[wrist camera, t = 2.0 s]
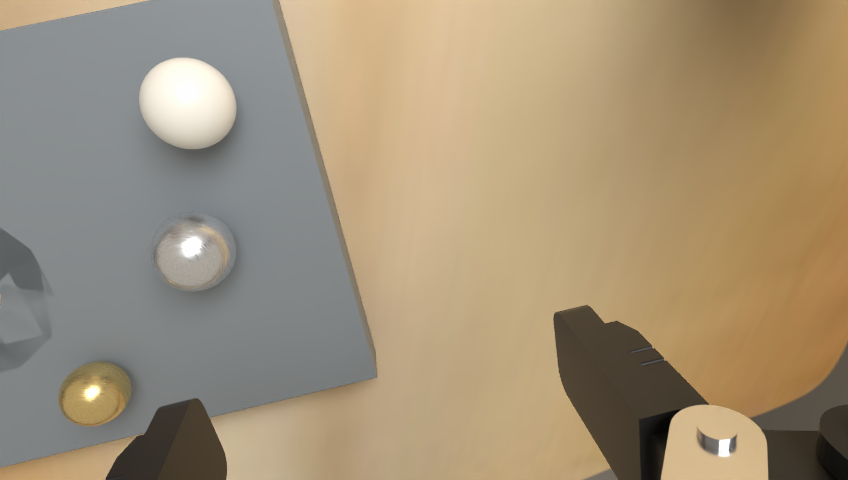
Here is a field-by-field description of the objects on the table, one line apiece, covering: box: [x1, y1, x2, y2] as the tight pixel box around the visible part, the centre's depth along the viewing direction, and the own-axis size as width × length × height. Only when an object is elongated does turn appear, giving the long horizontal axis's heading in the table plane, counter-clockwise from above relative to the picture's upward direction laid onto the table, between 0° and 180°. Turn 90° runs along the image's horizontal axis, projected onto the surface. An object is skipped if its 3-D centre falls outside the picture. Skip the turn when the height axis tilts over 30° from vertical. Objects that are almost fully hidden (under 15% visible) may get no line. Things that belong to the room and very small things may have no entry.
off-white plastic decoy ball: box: [139, 58, 236, 149], centre depth 20 cm, size 4×4×4 cm
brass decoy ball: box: [58, 361, 132, 426], centre depth 25 cm, size 3×3×3 cm
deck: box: [0, 0, 377, 468], centre depth 25 cm, size 24×20×2 cm
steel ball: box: [149, 212, 236, 292], centre depth 23 cm, size 4×4×4 cm
